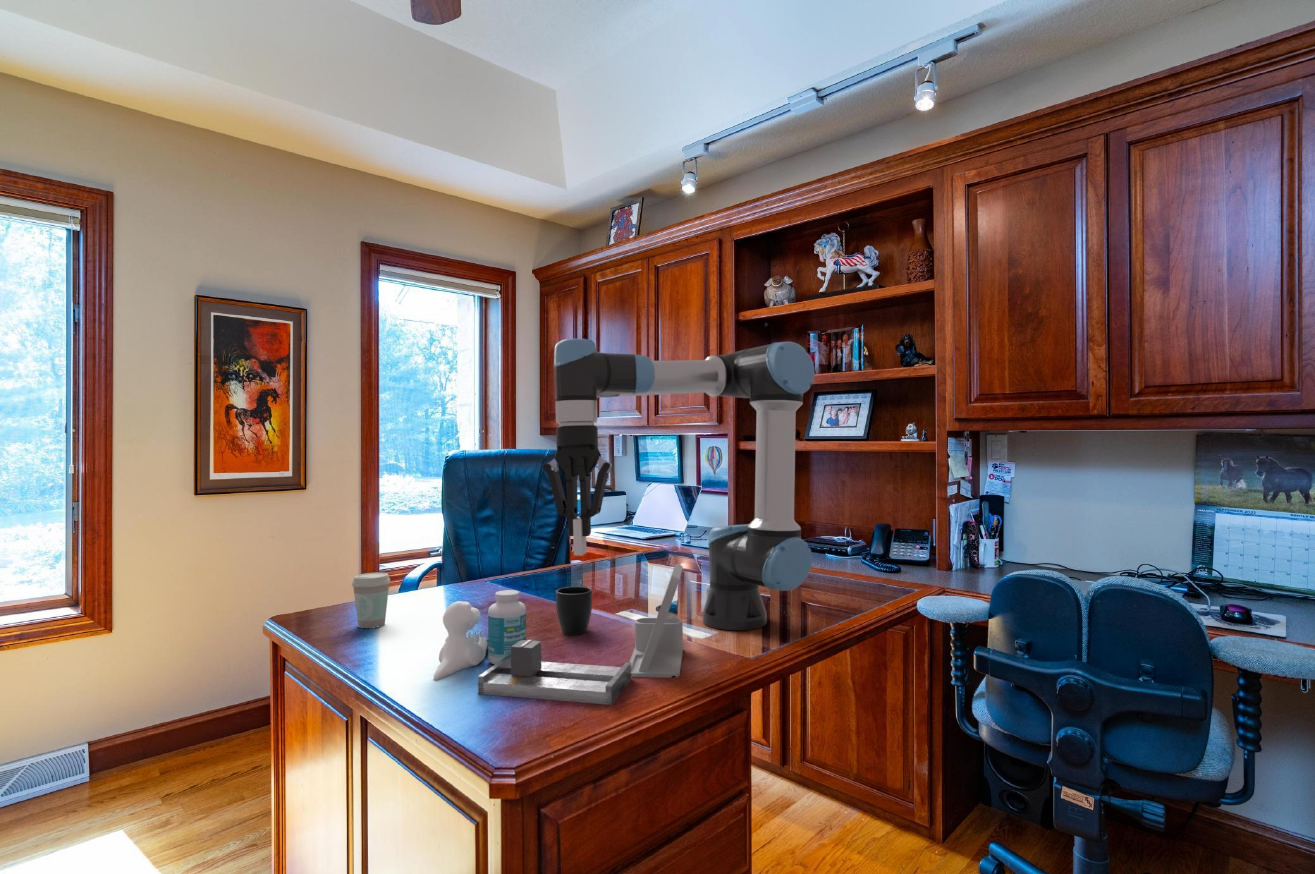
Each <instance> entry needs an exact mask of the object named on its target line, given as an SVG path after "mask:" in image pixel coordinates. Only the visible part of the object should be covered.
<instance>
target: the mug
mask: <svg viewBox="0 0 1315 874" xmlns="http://www.w3.org/2000/svg"><path fill="white" fill-rule="evenodd" d="M555 607H556V614H557V618H558V623H559V625H560V628H561V632H562V634H563V635H565V636H579V635H580V636H581V635H583V634H586V633H587V631H588V626H589V623H590V620H591V616H592V609H593V589H592V588H591V587H588V586H587V587H586V586H582V585H581V586H566V587H560V588H558V589H557V590H555Z"/></svg>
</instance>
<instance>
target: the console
mask: <svg viewBox="0 0 1315 874" xmlns="http://www.w3.org/2000/svg"><path fill="white" fill-rule="evenodd" d="M631 680H632V677H631V662H630V661H625V663H624V664H623V665H621V666H612V665H611V666H610V665H609V666H608V665H598V664H597V665H596V664H583V663H582V664H580V663H579V664H578V663H568V662H567V663H566V662H554V661H541V670H539V671H538V672H537V675H536V676H532V677H530V676H516V675H511V654H509V655H508V656H506V657H505V658H504V659H502V660H501V661H499V662H498V663H496V664H493V665H492V666H491V667H488V669H486V670H485V671H483V672H482V673H481V674H479V675H478V676H477V686H478V687H477V688H478V689H477V693H478V695H488V696H499V697H500V696H502V697H511V698H513V697H514V698H524V699H535V700H545V701H546V700H547V701H548V700H549V701H558V702H559V701H560V702H573V703H583V704H585V703H586V704H593V705H594V704H597V705H607V706H612V705H613V703H614V702H615V701H616V700H617V699H618V698H619V696H620V695H621V694H622V692H623V691H624V690H625V688H626V687H627V686H628V684H629V683H630V681H631Z"/></svg>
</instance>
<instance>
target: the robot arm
mask: <svg viewBox="0 0 1315 874" xmlns="http://www.w3.org/2000/svg"><path fill="white" fill-rule="evenodd" d="M597 349H598V348H597V347H596V343H595V341H594V340H592V339H586V338H567V339H566V338H565V339H562V340H559V341H557V343H556V344H555V346H554V353H553V355H554V359H553V368H554V386H555V388H554V389H555V422H556V424H558V425H559V426H557V428H556V429H555V431H556V434H555V436H556V437H555V439H556V452H555V454H554V458H553V459H552V460H550V462H547V463H544V464H543V465H542V469H543V470H544V472H545V473H546V475H547V476H548V480H549V484H550V488H551V491H552V492H551V493H552V495H553V499H554V503H555V507H556V511H557V514H558V515H559V516H562V517H565V518H567V522H568V523H567V525H568V526H567V527H568V528H567V529H568V536H569V537H573V556H579V557H580V556H583V555H585V554H587V553H588V552H587V550H588V549H587V537H589V536H590V535H591V533H592V528H591V527H592V526H591V524H592V522H591V519H592V517H594V516H595V515H599V514H600V513H601V510H602V505H603V502H604V501H603V500H604V497H605V491H606V486H607V482H608V476H609V474H610V472H611V471H612V469H613V467H614V464H613V462H611V461H607V460H606V459H604V458H602V454H601V452H600V449H599V434H598V433H599V432H598V427H597V425H595V423H597V422H598V398H599V399H600V398H616V397H634V396H635V397H637V396H656V395H659V396H661V395H680V394H681V395H683V394H704V393H705V394H706V395H707V396H709V397H714V398H715V397H726V398H727V397H730V398H742V399H749V405H751V407H752V408H753V409H754V411H756V417H755V418H756V423H755V425H756V426H755V427H756V429H755V430H756V431H755V474H754V475H755V477H754V478H755V480H754V481H755V483H754V487H755V488H754V518H753V520H751V522H750V523H747V524H746V523H745V524H735V525H734V524H733V525H724V526H723V525H721V526H715V527H713V528H711V530H710V531H709V536H708V544H707V545H708V555H709V556H708V558H709V559H708V560H709V561H708V562H709V564H708V565H709V591H708V594H707V597H706V601H705V604H704V607H703V611H702V623H703V624H704V625H706V626H708V627H710V628H714V629H719V630H724V631H725V630H727V631H748V630H749V631H750V630H756V629H759V628H762V627H764V626H766V625H767V623H768V616H767V610H766V607H765V604H764V602H763V598H762V595H761V592H760V587H764V588H767V589H770V590H772V591H776V590H777V591H782V592H789V591H792V590H795V589H797V588H798V587H799V586H801V585H802V584H803V582H804V580H806V579H807V577H808V575H809V574H810V570H811V568H812V563H813V562H812V560H813V555H812V549H811V547H809V544H808V543H807V541H805V540H803V538H801V537H802V536H801V535H802V528H801V526H800V524H798V523H797V522H796V521H795V487H796V486H795V481H796V479H795V477H796V475H795V473H796V471H795V469H796V416H797V415H796V414H797V413H796V412H797V410H799V408H800V407H801V406H802V405H803V404H804V403H803V401H804V394H805V393H807V392H808V391H809V390H810V389H811V386H813V383H814V380H815V375H816V374H815V366H814V363H813V359H812V357H811V355H810V354H809V353H807V350H806V349H805V348H804V346H802V345H800V344H799V343H796V342H793V341H780V342H777V341H775V342H773V343H770V344H765V345H761V346H756V347H752V348H751V347H750V348H745V349H742V350H739V351H734V352H731V353H725V354H719V355H710V356H707V357H706V358H705V359H694V360H692V359H690V360H688V359H687V360H686V359H684V360H683V359H682V360H681V359H680V360H679V359H678V360H652V359H651V358H650V357H649V356H646V355H643V354H636V353H632V354H630V353H610V352H609V353H608V352H600V351H597ZM596 466H597V469H598V470H597V471H598V473H597V475H596V481H595V486H594V490H593V495H592V494H591V490H592V489H591V480H592V472H594V470H595V468H596ZM559 469H562V471H563V473H564V478H565V484H566V495H565V492H564V487H563V484H562V480H561V475H560V473H559ZM578 481H579V498H580V499H579V500H580V501H578ZM591 497H592V498H591ZM578 502H580V503H578ZM579 504H580V513H579V509H578V508H579V507H578V505H579Z"/></svg>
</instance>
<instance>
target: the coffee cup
mask: <svg viewBox="0 0 1315 874" xmlns="http://www.w3.org/2000/svg"><path fill="white" fill-rule="evenodd" d="M390 583H391V578H390V576H389V573H387V572H380V571H379V572H367V573H361V574H357V575H355V576H354V577H353V580H352V582H351V586H352V587H353V594H354V595H353V596H354V602H355V603H354V604H355V610H356V617H357V626H360V627H363V628H370V629H374V628H373V627H377V626H381V627H383V626H384V625H386V617H387V607H388V600H389V599H388V598H389V589H390ZM383 624H384V625H383ZM382 625H383V626H382ZM377 628H378V627H377Z"/></svg>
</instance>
